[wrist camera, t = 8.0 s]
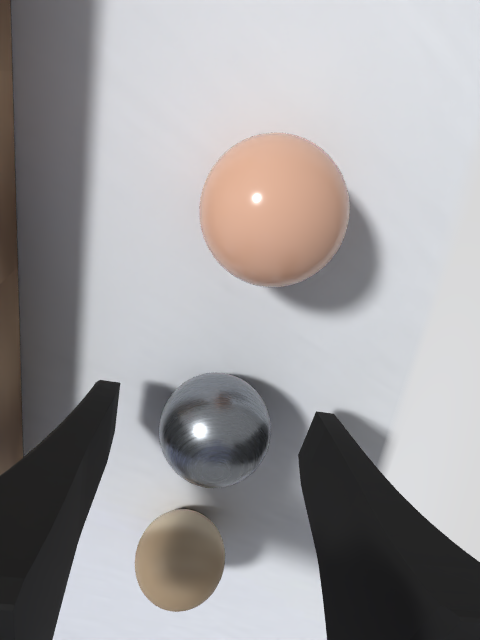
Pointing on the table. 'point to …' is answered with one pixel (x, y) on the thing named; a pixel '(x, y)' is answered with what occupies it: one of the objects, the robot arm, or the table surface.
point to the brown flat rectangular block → (8, 263)
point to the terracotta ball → (274, 209)
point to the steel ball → (215, 430)
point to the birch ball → (179, 560)
